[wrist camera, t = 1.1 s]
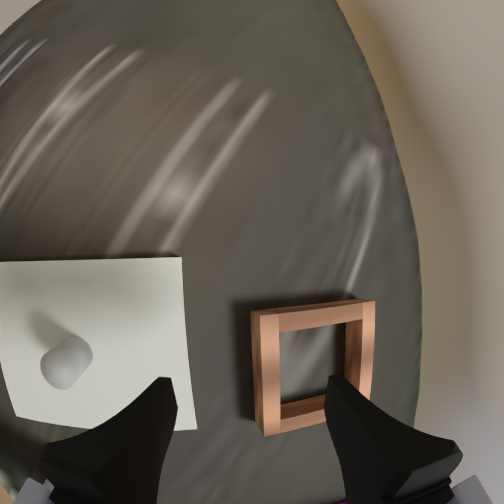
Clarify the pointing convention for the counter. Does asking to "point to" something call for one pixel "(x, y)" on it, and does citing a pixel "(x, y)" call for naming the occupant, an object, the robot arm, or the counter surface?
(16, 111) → the counter surface
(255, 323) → the loop
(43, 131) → the counter surface
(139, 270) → the hook board
